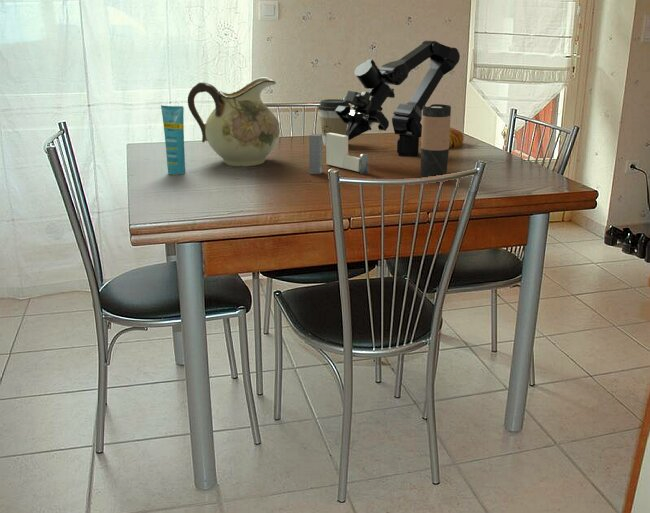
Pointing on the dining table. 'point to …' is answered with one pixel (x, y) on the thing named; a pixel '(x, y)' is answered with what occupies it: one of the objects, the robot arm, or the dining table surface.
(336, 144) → the gate
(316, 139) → the post
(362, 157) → the hinge post
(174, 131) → the tube
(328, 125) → the coffee cup
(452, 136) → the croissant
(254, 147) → the pitcher
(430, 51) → the robot arm
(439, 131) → the travel mug
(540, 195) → the dining table surface
